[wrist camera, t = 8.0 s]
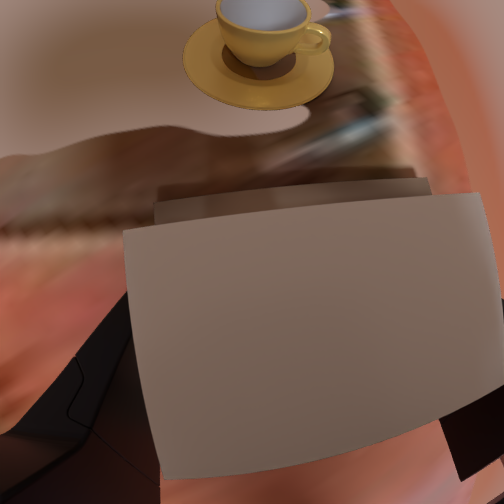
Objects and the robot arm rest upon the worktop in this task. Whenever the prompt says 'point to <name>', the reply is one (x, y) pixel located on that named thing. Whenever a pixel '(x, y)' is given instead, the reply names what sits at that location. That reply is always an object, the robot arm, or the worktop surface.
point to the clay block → (311, 328)
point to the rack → (286, 198)
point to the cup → (259, 54)
